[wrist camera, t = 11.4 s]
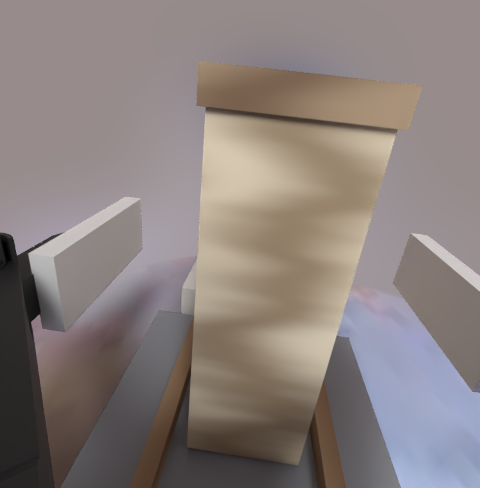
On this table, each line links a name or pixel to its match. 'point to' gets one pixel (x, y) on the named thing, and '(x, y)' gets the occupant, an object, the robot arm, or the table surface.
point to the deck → (213, 463)
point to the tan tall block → (280, 244)
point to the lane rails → (166, 418)
